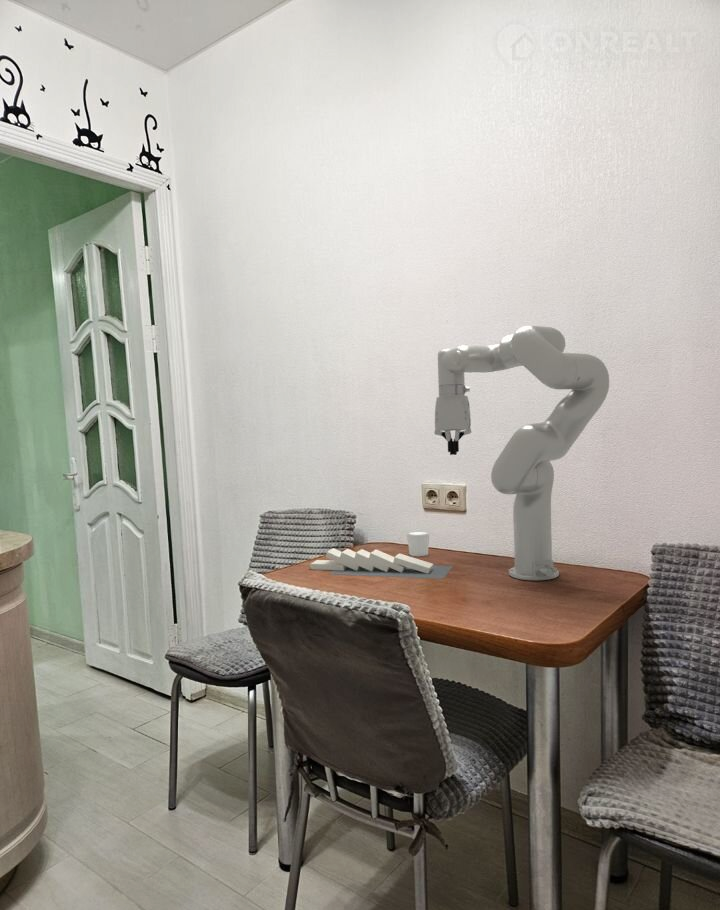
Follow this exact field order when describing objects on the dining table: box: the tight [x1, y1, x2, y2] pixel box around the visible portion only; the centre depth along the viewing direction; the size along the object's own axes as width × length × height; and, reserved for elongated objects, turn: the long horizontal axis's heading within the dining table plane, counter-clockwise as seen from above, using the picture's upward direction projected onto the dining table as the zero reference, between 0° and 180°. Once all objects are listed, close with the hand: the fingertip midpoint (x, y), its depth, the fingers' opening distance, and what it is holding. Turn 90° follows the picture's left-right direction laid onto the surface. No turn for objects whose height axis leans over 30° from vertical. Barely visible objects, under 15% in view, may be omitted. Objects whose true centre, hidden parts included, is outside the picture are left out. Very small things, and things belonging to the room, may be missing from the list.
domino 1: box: [309, 559, 348, 571], centre depth 186 cm, size 2×5×10 cm
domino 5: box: [369, 549, 407, 573], centre depth 180 cm, size 2×5×10 cm
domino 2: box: [325, 547, 361, 571], centre depth 184 cm, size 2×5×10 cm
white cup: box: [406, 530, 430, 557], centre depth 199 cm, size 7×7×7 cm
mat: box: [328, 565, 454, 580], centre depth 180 cm, size 32×14×1 cm, turn 71°
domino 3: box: [340, 548, 376, 571], centre depth 183 cm, size 2×5×10 cm
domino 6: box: [393, 553, 434, 574], centre depth 178 cm, size 2×5×10 cm
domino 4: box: [354, 548, 391, 572], centre depth 181 cm, size 2×5×10 cm
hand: (453, 454), depth 190 cm, fingers closed
